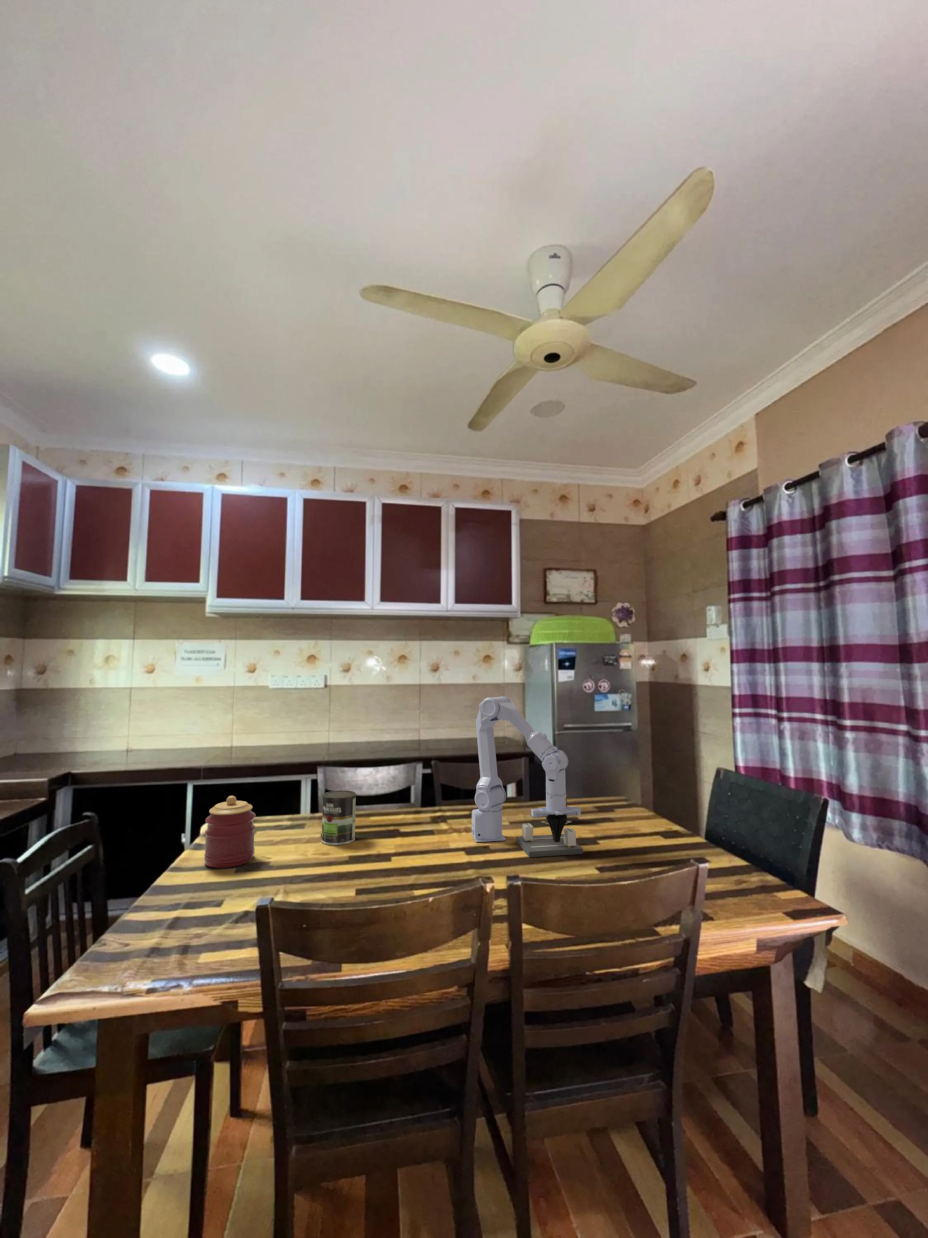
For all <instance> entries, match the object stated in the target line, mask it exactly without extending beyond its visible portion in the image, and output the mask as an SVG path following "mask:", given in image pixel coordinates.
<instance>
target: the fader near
mask: <svg viewBox="0 0 928 1238" xmlns="http://www.w3.org/2000/svg"><path fill="white" fill-rule="evenodd" d="M563 834H564V843H565V844H566V845H567V846H576V843H577V835H576V834H577V832H576V830H575V829H573V828H571V827H567V828H563Z"/></svg>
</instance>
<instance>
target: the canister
mask: <svg viewBox="0 0 928 1238" xmlns="http://www.w3.org/2000/svg"><path fill="white" fill-rule="evenodd" d="M225 800H226V801H222V802H219V803H217V804H215V805H214V806H213V807H212V808H210V809H209V811H208V812H209V814H210V815H208V816H207V817H206V818H205V823H206V824H207V827H206V830H205V832H204V834H205V842H204V843H205V848H204V849H205V850H204V854H203V855H204V857H203V859H204V864H205V866H207V867H210V868H215V869H226V868H232V867H237V866H238V867H239V866H242V865H244V864H247V863H250V862H251V861H252V860H253V859H254V857H255V829H256V825H255V823H254V819H255V818H256V813H255V812H254V811H252V809H253V808H254V807H253V805H252V804H251V803H248V802H247V801H245V800H244V801H243V800H237V797H236V796H234V795H229V796H228V797H227V798H226V799H225Z"/></svg>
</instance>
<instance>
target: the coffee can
mask: <svg viewBox="0 0 928 1238" xmlns="http://www.w3.org/2000/svg"><path fill="white" fill-rule="evenodd" d="M321 796H322V810H321V811H322V813H321V815H322V816H321V817H322V820H321V821H322V822H321V843H322V844H324V845H327V846H342V845H343V846H344V845H348V844H350V843H354V842H355V840H356V802H357V801H356V799H357V798H356V796H357V792H355V791H351V790H332V791H331V790H330V791H328V792H327V791H326V792H324V793H322V795H321Z"/></svg>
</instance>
